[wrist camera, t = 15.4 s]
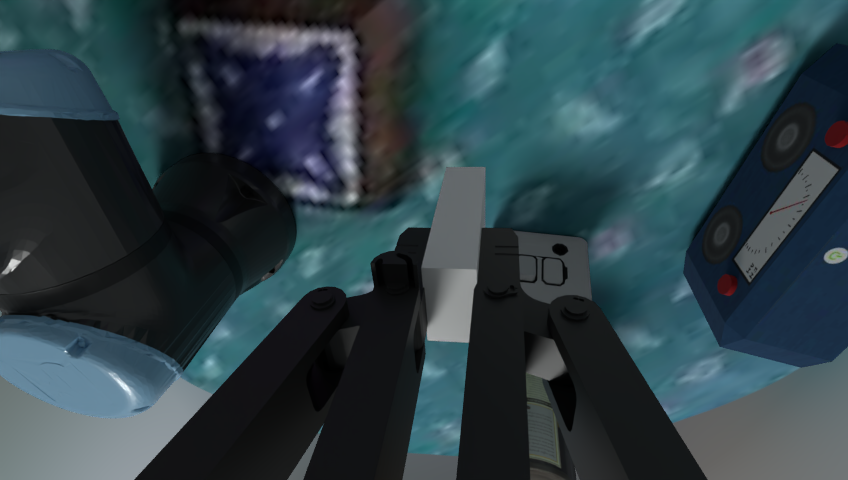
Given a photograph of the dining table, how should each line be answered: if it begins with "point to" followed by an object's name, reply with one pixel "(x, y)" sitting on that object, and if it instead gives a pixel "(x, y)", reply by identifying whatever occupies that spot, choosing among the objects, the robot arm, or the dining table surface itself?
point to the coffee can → (545, 437)
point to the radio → (784, 231)
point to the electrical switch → (553, 266)
